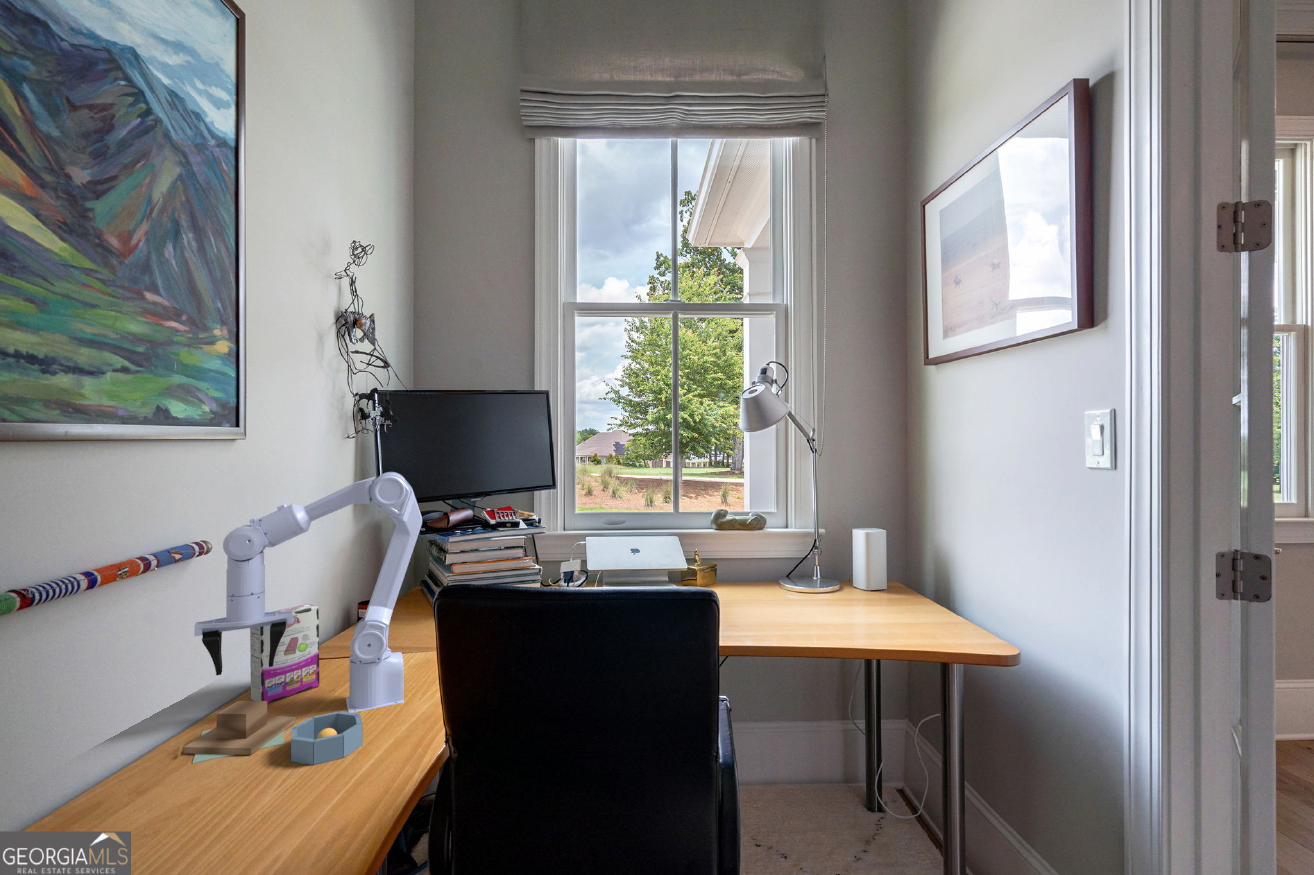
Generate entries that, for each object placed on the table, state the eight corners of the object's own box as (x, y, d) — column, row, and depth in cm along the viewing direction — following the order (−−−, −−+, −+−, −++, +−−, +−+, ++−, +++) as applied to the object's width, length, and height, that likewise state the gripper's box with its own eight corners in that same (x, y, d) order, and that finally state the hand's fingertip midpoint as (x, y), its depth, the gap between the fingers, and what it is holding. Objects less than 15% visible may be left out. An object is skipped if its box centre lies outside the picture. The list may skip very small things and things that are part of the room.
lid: (295, 722, 107) (295, 694, 107) (250, 754, 96) (251, 723, 96) (234, 721, 108) (234, 693, 108) (183, 753, 97) (183, 721, 97)
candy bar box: (307, 681, 128) (307, 602, 128) (320, 686, 125) (320, 606, 125) (248, 700, 118) (248, 615, 118) (261, 706, 115) (261, 619, 116)
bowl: (358, 730, 106) (358, 707, 106) (364, 756, 97) (364, 730, 97) (290, 745, 101) (291, 721, 101) (290, 773, 92) (291, 747, 92)
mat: (284, 718, 110) (284, 715, 110) (283, 747, 100) (283, 743, 100) (202, 735, 104) (202, 731, 104) (192, 767, 94) (192, 763, 94)
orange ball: (336, 741, 101) (336, 723, 101) (338, 749, 98) (338, 730, 98) (316, 746, 99) (316, 727, 99) (316, 754, 97) (316, 735, 97)
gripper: (293, 583, 116) (292, 655, 116) (198, 593, 109) (198, 669, 109) (293, 591, 110) (292, 666, 110) (192, 602, 103) (192, 683, 103)
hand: (245, 669), depth 109 cm, fingers open, 7 cm apart
